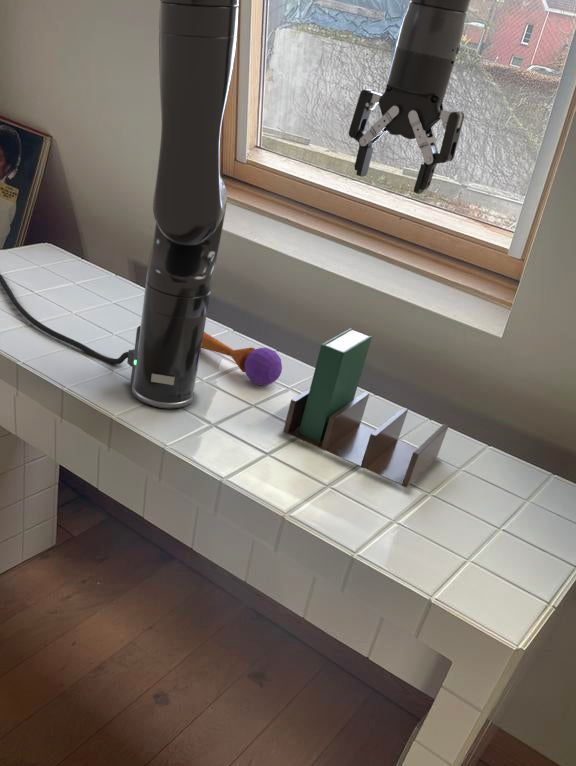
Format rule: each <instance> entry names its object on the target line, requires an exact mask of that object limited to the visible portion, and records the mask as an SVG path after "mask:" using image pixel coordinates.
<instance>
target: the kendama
mask: <svg viewBox="0 0 576 766" xmlns="http://www.w3.org/2000/svg"><path fill="white" fill-rule="evenodd" d="M201 349H203V350H204V349H205V350H207V351H211V352H215V353H218V354H222V355H226V356H230V357H231V358H232V359H233V361H234V362H235V364H236V366H237V367H238V368H239V370H240V371H241V372H242V373H245V375H246V376H247V378H248V379H249V380H250V382H251V383H253V384H256V385H258V386H269V385H272V384H273V383H275V382H276V381H277V380H278V379H279V378H280V376H281V374H282V370H283V364H282V359H281V357H280V355H279V354H278V353H277V352H276V351H275V350H274V349H271V348H267V347H257V348H254V347H245V348H239V349H233V348H232V347H230V346H228V345H227V344H225V343H223V342H222V341H220V340H218V339H217V338H215V337H214V336H212V335H210V334H209V333H207V332H205V331H204V334H203V340H202V346H201Z"/></svg>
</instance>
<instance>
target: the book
mask: <svg viewBox="0 0 576 766" xmlns="http://www.w3.org/2000/svg"><path fill="white" fill-rule="evenodd" d="M372 339H373V335H367V334H364V333H361V332H359V331H356V330H353V328H352V327H350V328H348V329H346V330H344V331H342V332H341V333H339V334H337V335H336V336H335V335H334V337H332V338H330V339H329V340H326V341H325V342H323V343H321V345H320V349H319V353H318V356H317V360H316V365H315V369H314V373H313V376H312V380H311V384H310V387H309V388H310V391H309V395H308V399H307V403H306V406H305V410H304V414H303V418H302V422H301V426H300V430H299V433H300V434H302V435H304V436H307V437H309V438H311V439H313V440H316V441H318V442H320V441H322V440H323V439H324V436H325V433H326V429H327V426H328V422H329V418H330V416H331V415H333V414H334V413H336V412H337V411H338V410H340V409H341V408H343V407H344V406H345V405H347V404H348V403H350V402H351V401H352V400H354V399H355V398H356V393H357V391H358V390H357V389H358V386H359V383H360V380H361V375H362V373H363V369H364V365H365V362H366V359H367V356H368V352H369V349H370V346H371V342H372Z"/></svg>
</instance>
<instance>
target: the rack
mask: <svg viewBox="0 0 576 766" xmlns="http://www.w3.org/2000/svg"><path fill="white" fill-rule="evenodd" d="M309 391H310V387H309V388H307V389H306V390H304V391H303V392H301V393H300V394H298V395H297V396H295V397H293V398H292V399H291V400H290V403H289V407H288V411H287V416H286V419H285V422H284V428H283V433H285V434H288V435H290V436H292V437H294V438H296V439H298V440H301V441H303V442H305V443H308V444H310V445H312V446H314V447H316V448H319V449H321V450H323V451H325V452H328V453H330V454H332V455H334V456H336V457H339V458H341V459H343V460H345V461H347V462H350V463H352V464H354V465H356V466H358V467H360V468H363V469H365V470H368V471H370V472H371V473H374V474H376V475H378V476H380V477H382V478H385V479H388V480H390V481H392V482H394V483H396V484H398V485H400V486H403V487H405V488H408V487H409V486H410V485H411V484H412V483H413V482H414V480H416V479H417V478H418V477H419V476H420V475H422V473H423V472H424V471H425V470H426V469H427V468H428V467H429V466H430V465H431V463H433V462H434V460H436V459H437V457H438V456H439V453H440V450H441V448H442V445H443V442H444V439H445V437H446V434H447V432H448V429H449V425H448V424H445V423H443V424H442V425H441V426H439V427H438V429H436V430H435V431H434V432H433V433H432V434H431V435H430V436H429V437H428V438H426V440H425V441H424V442H423V443H422V444H421V445H420V446H418V447H416V446H413V445H411V444H409V443H406V442H404V441H401V440H400V439H399V437H400V435H401V432H402V429H403V426H404V423H405V421H406V418H407V414H408V412H409V408H406V407H402V408H401V409H400V410H399V411H397V412H396V413H395V414H393V415H392V416H391V417H389V419H387V420H386V421H385V422H384V423H382V424H381V425H380V426H379V427H377V428H376V429H374V428H371V427H369V426H366V425H365V424H362V421H363V416H364V414H365V411H366V407H367V404H368V401H369V398H370V392H367V391H364V392H362V393H361V394H360V395H358V396H357V397H354V400H352V401H351V402H350V403H348V404H347V405H345V406H344V407H343V408H341V409H340V410H338V411H337V412H336V413H334V414H333V415H331V416H330V418H329V422H328V426H327V429H326V433H325V436H324V439H323V440H322V441H320V442H318V441H316V440H313V439H311V438H309V437H307V436H304V435H302V434H300V433H299V430H300V426H301V422H302V418H303V414H304V410H305V406H306V403H307V399H308V395H309Z"/></svg>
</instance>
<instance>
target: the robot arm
mask: <svg viewBox="0 0 576 766" xmlns="http://www.w3.org/2000/svg"><path fill="white" fill-rule="evenodd" d="M470 3H471V0H409V3H408V7H407V10H406V13H405V15H404V17H403V20H402V23H401V26H400V30H399V34H398V39H397V41H396V46H395V50H394V53H393V57H392V60H391V61H392V62H391V65H390V68H389V73H388V77H387V81H386V86H385V90H384V91H383V93H379V92H377V91H376V90H375V89H374V88H369V89H362V90H361V91H360V93H359V96H358V100H357V103H356V106H355V109H354V113H353V117H352V119H351V123H350V127H349V129H348V136H349V138H351V139H354V140H355V141H356V142H357V143H358V150H357V154H356V159H355V163H354V171H356V172H355V173H356V174H355V175H356V176H358V177H362V178H363V177H365V176H367V175H368V172H369V168H370V164H371V160H372V157H373V152H374V149H375V146H373V145H374V144H375V143H376V142H377V141H378V140H380V139H381V137H382V136H384V135H386V134H387V133H388V134H389V135H393V136H402V138H404V139H408V140H416V144H417V147H418V148H419V150H420V152H421V155H422V158H423V161H424V162H422V163H421V164H420V167H419V171H418V174H417V178H416V181H415V184H414V187H413V193H415V194H417V195H420V194H423V193H424V191H425V190H428V189H429V188H430V186H431V184H432V179H433V176H434V174H435V170H436V167H437V165H439V164H445V163H449V162H452V161H453V160H454V158H455V155H456V151H457V146H458V142H459V139H460V135H461V132H462V128H463V123H464V119H465V112H464V111H462V110H461V111H459V110H455V111H452V110H447V109H444V105H443V104H444V103H443V102H444V98H445V95H446V92H447V90H448V86H449V82H450V78H451V76H452V72H453V69H454V65H455V62H456V59H457V55H458V53H459V52H460V47H461V42H462V37H463V34H464V28H465V23H466V17H467V12H468V11H469V7H470ZM239 5H240V0H159V12H158V13H159V16H158V59H159V60H158V63H159V67H158V69H159V73H158V74H159V95H160V96H159V97H160V115H161V116H160V117H161V126H160V127H161V128H160V129H161V130H160V131H161V132H160V144H159V145H160V146H159V153H158V164H157V173H156V179H155V184H154V185H155V186H154V193H153V200H152V212H153V217H154V221H155V228H154V234H153V240H152V245H151V246H152V247H151V251H150V255H149V258H148V264H147V270H146V271H147V272H146V277H145V278H146V279H145V285H144V286H145V287H144V294H143V303H142V309H141V319H140V325H138V326H137V328H136V333H135V341H134V349H128V351H124V352H123V353H122V354H121V355H120V356H119V357H118V358H113V357H109V356H105V355H103V354H101V353H99V352H98V351H95V350H93V349H92V348H90V347H89V346H87V345H85V344H83V343H81V342H79V341H77V340H75V339H73V338H70V337H68V336H66V335H64V334H62V333H60V332H58V331H55V330H53V329H52V328H50V327H48V326H47V325H45V324H43V323H41V322H40V321H39V320H37V319H36V318H35V317H33V316H32V315H31V314H30V313H29V312H27V311H26V309H24V308H23V307H24V306H22V305H21V304H20V303H19V302H18V300H17V298H16V297H15V294H14V293H13V291H12V289H11V288H10V287H9V285H8V283H7V281H6V280H5V278H4V277H3V276H2V274H1V273H0V284H1V286H2V288H3V289H4V291H5V293H6V294H7V296H8V298H9V300H10V301H11V304H12V305H13V306H14V308H15V309H16V310H17V311H18V312H19V313H20V315H22V316H23V317H24V318H25V319H26V320H27V321H28V322H29V323H30V324H32V325H33V326H35V328H38V329H39V330H41V331H42V332H44V333H46V334H48V335H50V336H51V337H53V338H56V339H57V340H59V341H62V342H64V343H66V344H68V345H70V346H72V347H75V348H77V349H79V350H81V351H83V352H84V353H86V354H87V355H89V356H91V357H93V358H95V359H98V360H100V361H102V362H105V363H108V364H111V365H120V364H122V363H124V361H125V360H127V361H126V363H127V364H128V365H129V366H130V367H131V375H130V384H129V385H130V386H131V393H132V395H133V396H134V397H135V399H136V400H138V401H140V402H142V403H144V404H145V405H148V406H151V407H154V408H161V409H169V410H170V409H171V410H173V409H181V408H184V407H187V406H189V405H190V404H191V403H192V402H193V400H194V396H195V387H196V380H197V374H198V369H199V362H200V358H201V357H200V356H201V352H202V348H201V346H202V340H203V334H204V332H205V328H206V322H207V316H208V309H209V305H210V297H211V292H212V286H213V281H214V277H215V272H216V266H217V262H218V256H219V249H220V244H221V239H222V234H223V227H224V221H225V216H226V210H227V203H228V202H227V201H228V194H227V193H228V192H227V188H226V185H225V181H224V179H223V178H222V176H221V173H220V168H221V167H220V150H221V149H220V148H221V147H220V145H221V131H222V123H223V118H224V114H225V108H226V104H227V99H228V96H229V95H228V94H229V90H230V84H231V79H232V73H233V69H234V61H235V55H236V46H237V45H236V44H237V34H238V23H239V22H238V21H239V8H240V7H239ZM377 105H378V107H379V110H380V113H381V117H380V118H379V119H378V120H377V121H376V122H375V123H374V124H373V125H372V126H371V127H370V128H369V129H368V131H366V128H367V125H368V121H369V119H370V115H371V112H372V110H374V109H376V107H377ZM440 120H441V121H442V128H443V129H444V135H443V138H442V143H441V146H440V151H439V150H438V147H437V140H436V136H435V133H434V132H435V131H434V129H433V127H434V126H435V125H436V124H437V123H438V122H440Z"/></svg>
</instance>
